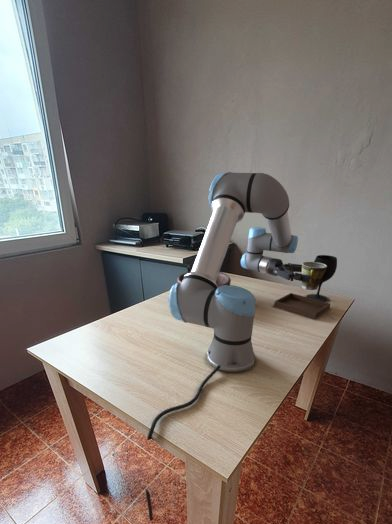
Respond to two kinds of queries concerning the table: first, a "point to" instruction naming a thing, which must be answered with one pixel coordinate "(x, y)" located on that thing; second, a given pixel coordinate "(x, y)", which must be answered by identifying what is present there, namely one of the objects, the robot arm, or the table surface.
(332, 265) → the wine glass
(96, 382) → the table surface
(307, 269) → the ceramic cup
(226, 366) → the robot arm
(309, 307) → the tray
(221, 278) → the wooden bowl
